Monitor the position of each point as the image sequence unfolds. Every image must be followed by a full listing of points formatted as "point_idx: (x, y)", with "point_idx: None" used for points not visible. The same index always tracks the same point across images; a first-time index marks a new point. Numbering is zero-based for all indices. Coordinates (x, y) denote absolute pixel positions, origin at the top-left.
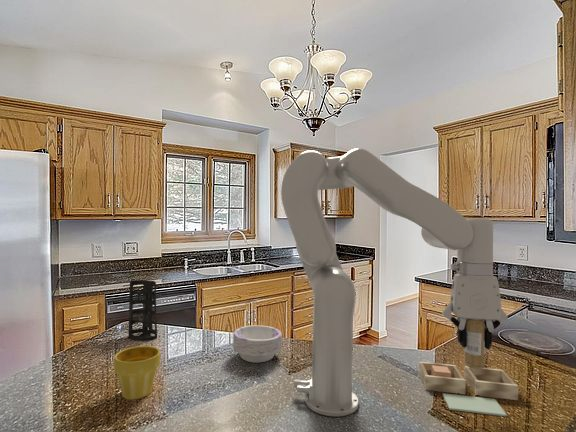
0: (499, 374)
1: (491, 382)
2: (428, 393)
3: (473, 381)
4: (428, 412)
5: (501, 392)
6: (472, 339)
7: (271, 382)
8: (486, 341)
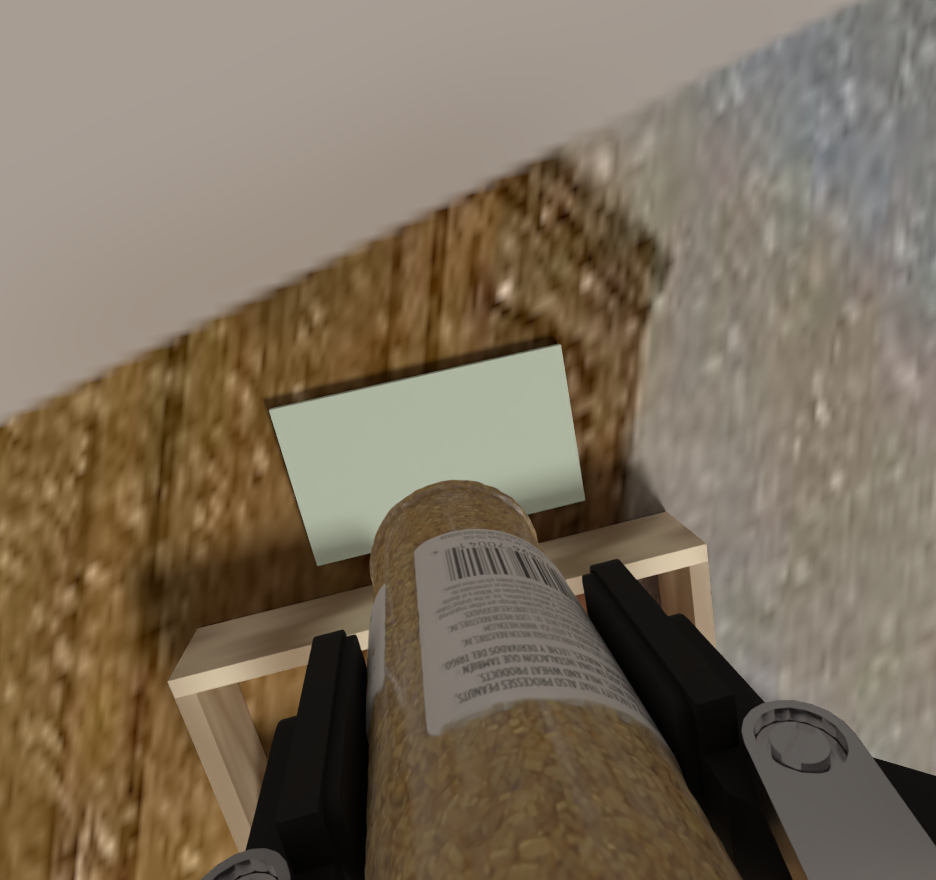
0: None
1: None
2: (652, 479)
3: None
4: (666, 260)
5: (276, 626)
6: (545, 627)
7: None
8: (346, 691)
